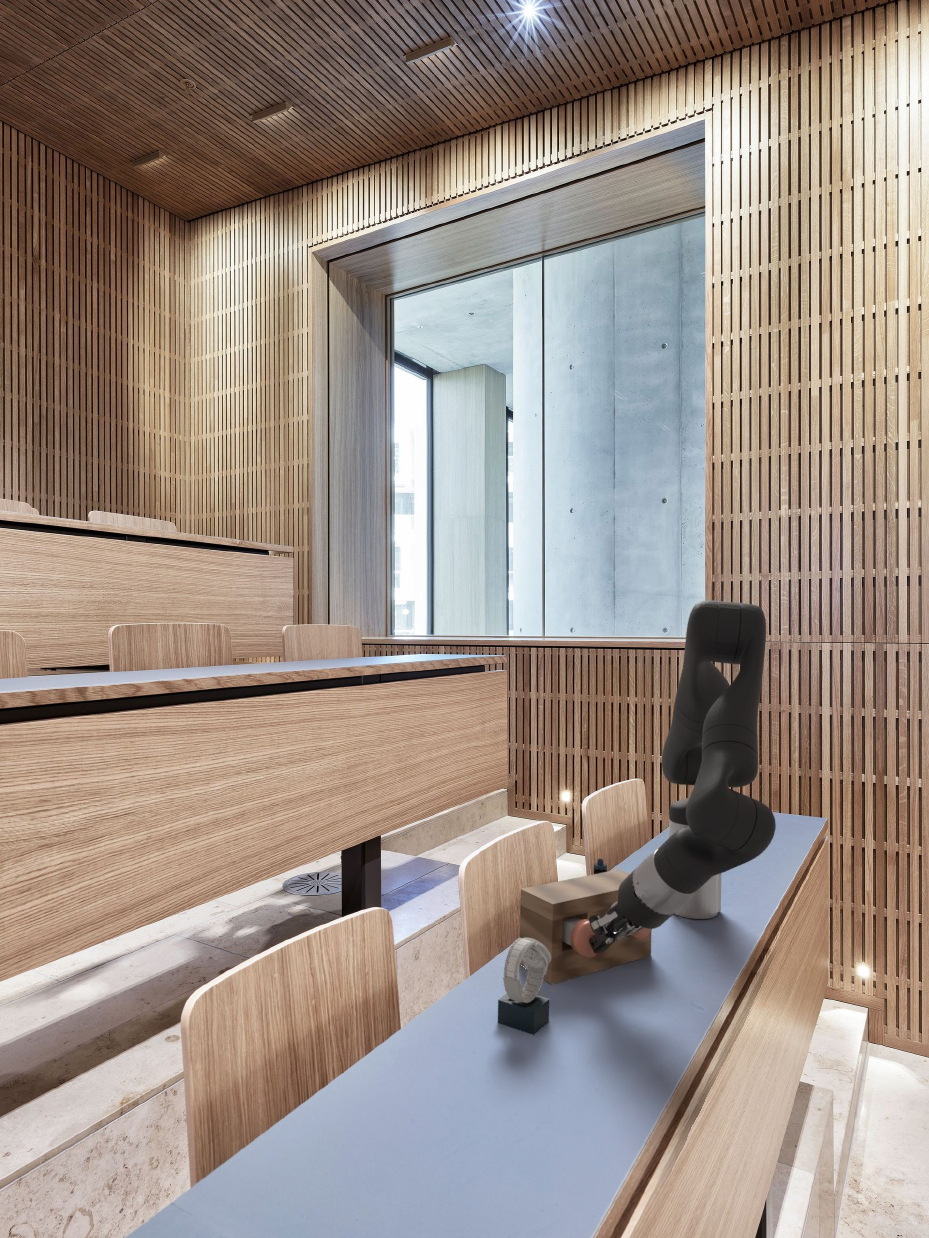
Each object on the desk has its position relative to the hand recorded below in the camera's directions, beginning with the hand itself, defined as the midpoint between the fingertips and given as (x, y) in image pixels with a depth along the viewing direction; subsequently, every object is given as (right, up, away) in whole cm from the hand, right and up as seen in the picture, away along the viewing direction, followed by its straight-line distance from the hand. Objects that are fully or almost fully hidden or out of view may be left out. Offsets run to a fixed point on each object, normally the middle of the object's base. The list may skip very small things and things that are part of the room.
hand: (595, 946), depth 118 cm
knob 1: (-3, -2, +5) cm, 6 cm away
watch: (-11, -6, -10) cm, 17 cm away
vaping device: (+3, -7, +25) cm, 27 cm away
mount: (0, -6, +10) cm, 12 cm away
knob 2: (+6, -2, +12) cm, 14 cm away
